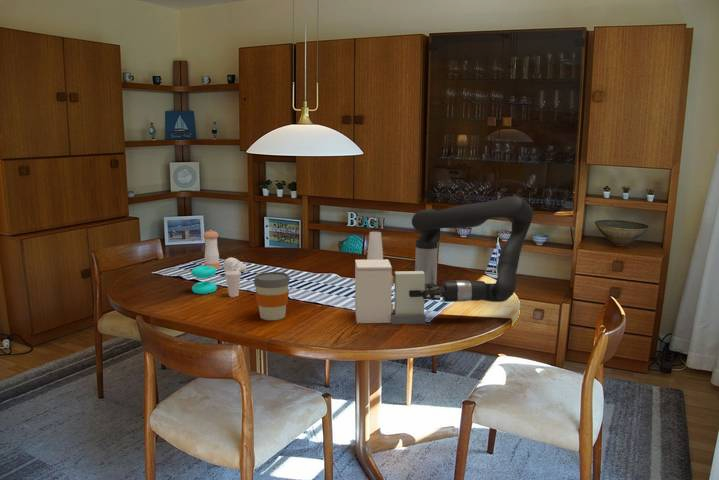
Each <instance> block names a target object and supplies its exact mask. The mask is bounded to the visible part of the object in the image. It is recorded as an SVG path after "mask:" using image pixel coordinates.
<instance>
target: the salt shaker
mask: <svg viewBox="0 0 719 480" xmlns="http://www.w3.org/2000/svg"><path fill="white" fill-rule="evenodd" d="M202 237H203V239H204V243H205V248H204V263H203V264H204V265H203V266H211V267H214V268H215V269H219V268H220V269H221V262H220V252H219V249H218V238H219V233H218V232H217V231H215V230H213V229H209V230H207V231H204V232H203V235H202ZM220 269H219V270H220Z"/></svg>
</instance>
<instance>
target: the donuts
mask: <svg viewBox="0 0 719 480" xmlns="http://www.w3.org/2000/svg"><path fill="white" fill-rule="evenodd" d="M190 272H191V273H190V274H191V276H192V277H194V278H195V279H196V278H197V279H208V278H211V277H213V276H215V275H216V273H217V270H216V269H215V268H214V267H211V266H204V265H201V266H197V267H194V268H192V269H191V271H190ZM217 289H218V286H217V284H216V283H214V282H213V281H199V282H196V283H195V284H193V285H192V287H191V291H192V292H193V293H194V294H198V295H207V294H208V293H209V294H212V293H214V292H216V291H217Z"/></svg>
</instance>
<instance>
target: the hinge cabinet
mask: <svg viewBox="0 0 719 480" xmlns="http://www.w3.org/2000/svg"><path fill="white" fill-rule="evenodd" d="M354 263H355V266H354V267H355V270H354V275H355V279H354V283H355V284H354V287H355V289H354V291H355V293H354V297H355V298H354V310H355V311H354V312H355V313H354V314H355V321H356V324H377V323H378V324H382V323H384V324H385V323H387V324H388V323H389V324H391V325H426V324H427V314H424V315H394V313H395V308H394V304H393V303H392V286H394V275H393V274H392V273H393V267H392V265H391V262H390V261H389V259H388V258H387V259H384V258H383V260H368V259H355V262H354Z"/></svg>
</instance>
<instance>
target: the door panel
mask: <svg viewBox="0 0 719 480" xmlns="http://www.w3.org/2000/svg"><path fill="white" fill-rule="evenodd" d="M410 290H420V291H421V290H425V273H424V272H423V271H415V270H414V271H413V270H412V271H408V270H407V271H405V270H403V271H394V309H395V313H394V315H425V299H423V298H421V297H410V296H409V291H410Z"/></svg>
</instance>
